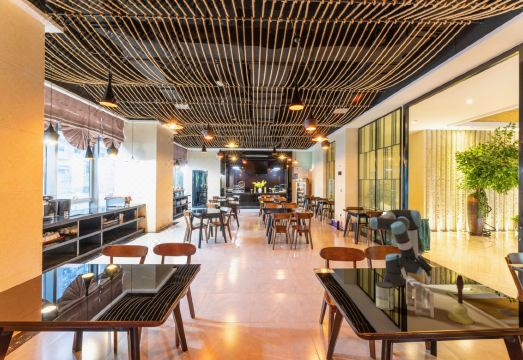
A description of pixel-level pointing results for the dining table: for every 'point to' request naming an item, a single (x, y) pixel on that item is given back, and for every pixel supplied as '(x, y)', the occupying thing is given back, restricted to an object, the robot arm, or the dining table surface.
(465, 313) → the handbell
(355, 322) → the dining table surface
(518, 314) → the dining table surface
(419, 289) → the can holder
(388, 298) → the coffee can
